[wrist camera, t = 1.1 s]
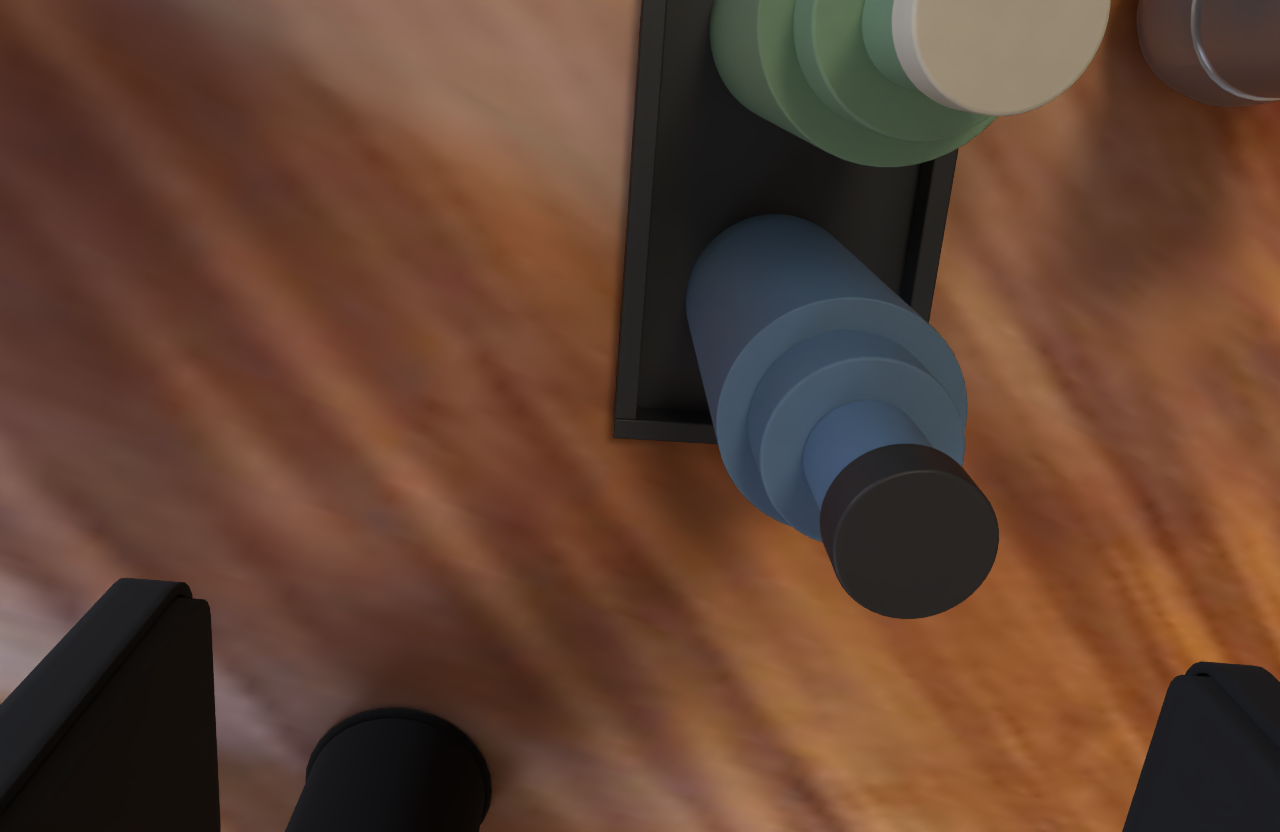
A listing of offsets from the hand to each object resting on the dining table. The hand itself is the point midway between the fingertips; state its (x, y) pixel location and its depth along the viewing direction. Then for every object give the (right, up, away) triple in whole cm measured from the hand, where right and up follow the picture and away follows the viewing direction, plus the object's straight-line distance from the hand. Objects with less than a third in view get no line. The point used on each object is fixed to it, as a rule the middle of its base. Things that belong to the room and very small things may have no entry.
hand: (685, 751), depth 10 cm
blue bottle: (+4, +8, +28) cm, 30 cm away
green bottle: (+5, +17, +25) cm, 31 cm away
